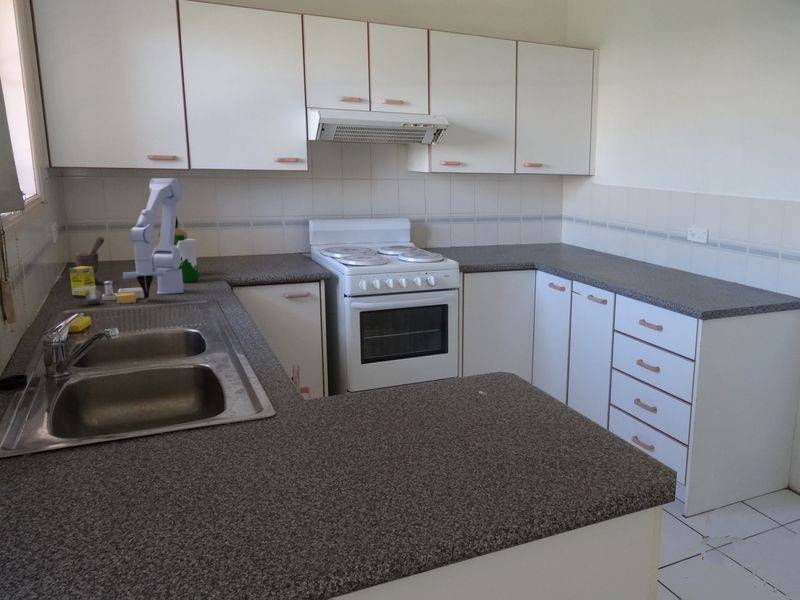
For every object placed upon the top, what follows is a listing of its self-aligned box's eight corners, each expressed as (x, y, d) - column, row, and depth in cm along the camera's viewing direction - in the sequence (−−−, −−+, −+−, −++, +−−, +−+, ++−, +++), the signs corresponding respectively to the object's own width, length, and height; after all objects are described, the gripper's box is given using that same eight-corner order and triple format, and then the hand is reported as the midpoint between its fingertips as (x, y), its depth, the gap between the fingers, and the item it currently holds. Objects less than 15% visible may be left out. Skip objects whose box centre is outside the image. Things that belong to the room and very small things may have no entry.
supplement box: (85, 297, 230) (82, 268, 228) (72, 297, 231) (68, 268, 229) (96, 294, 236) (93, 266, 233) (83, 293, 237) (79, 266, 235)
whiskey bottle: (193, 276, 276) (187, 204, 270) (173, 279, 269) (167, 205, 262) (179, 273, 282) (173, 203, 276) (160, 276, 275) (153, 204, 268)
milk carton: (172, 281, 263) (168, 234, 259) (192, 278, 269) (188, 233, 265) (182, 283, 257) (178, 236, 253) (202, 281, 263) (198, 234, 259)
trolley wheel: (102, 301, 222) (101, 285, 221) (101, 304, 217) (99, 287, 216) (77, 303, 219) (75, 286, 218) (75, 306, 214) (73, 289, 213)
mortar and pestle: (109, 281, 264) (104, 235, 259) (108, 284, 256) (103, 237, 252) (79, 283, 259) (73, 236, 255) (77, 286, 251) (72, 238, 247)
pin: (114, 297, 229) (113, 280, 228) (114, 299, 226) (112, 281, 225) (105, 298, 228) (103, 281, 227) (104, 300, 225) (102, 282, 224)
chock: (135, 300, 226) (134, 292, 225) (135, 302, 222) (135, 294, 221) (117, 302, 223) (116, 293, 223) (117, 304, 219) (116, 296, 218)
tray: (144, 294, 234) (143, 287, 234) (143, 298, 228) (143, 290, 227) (119, 296, 231) (119, 288, 231) (118, 300, 225) (118, 292, 224)
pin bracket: (116, 297, 230) (116, 293, 230) (116, 299, 226) (115, 295, 225) (103, 298, 228) (103, 294, 228) (102, 300, 224) (102, 296, 224)
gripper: (121, 262, 216) (124, 299, 218) (164, 260, 221) (167, 297, 223) (122, 259, 222) (125, 296, 225) (164, 257, 227) (167, 293, 230)
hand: (146, 296), depth 224 cm, fingers closed
